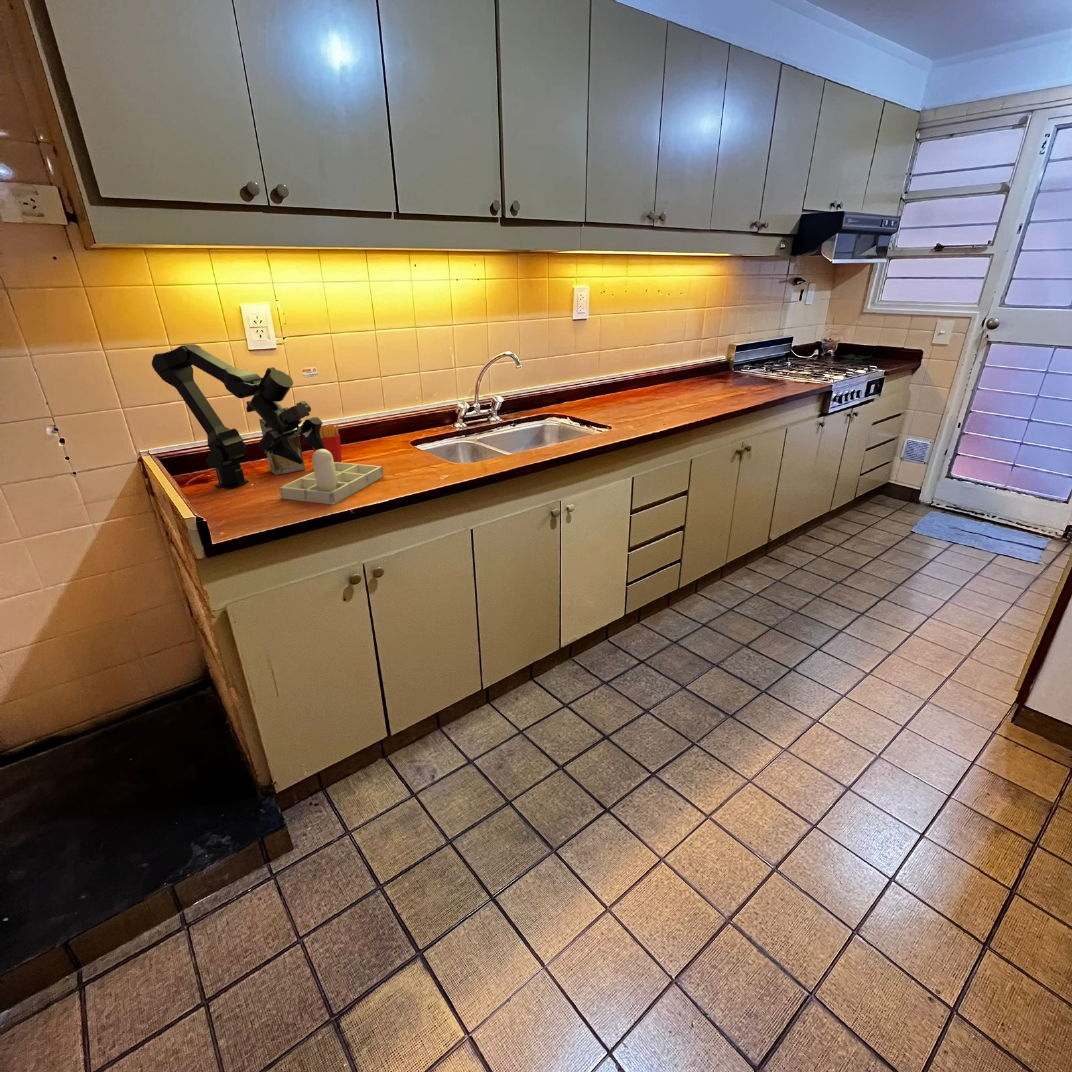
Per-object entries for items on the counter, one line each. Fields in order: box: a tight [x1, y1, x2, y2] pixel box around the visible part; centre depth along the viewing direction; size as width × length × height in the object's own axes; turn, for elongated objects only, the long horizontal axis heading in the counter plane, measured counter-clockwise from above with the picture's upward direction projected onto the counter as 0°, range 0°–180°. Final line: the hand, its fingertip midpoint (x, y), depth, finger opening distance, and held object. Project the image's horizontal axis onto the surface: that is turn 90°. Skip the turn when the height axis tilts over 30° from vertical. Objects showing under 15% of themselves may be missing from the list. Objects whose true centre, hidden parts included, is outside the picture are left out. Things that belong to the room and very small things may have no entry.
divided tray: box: [278, 461, 384, 506], centre depth 159 cm, size 16×24×3 cm
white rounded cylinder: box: [311, 449, 338, 492], centre depth 149 cm, size 5×5×13 cm
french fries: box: [312, 423, 343, 463], centre depth 175 cm, size 9×4×13 cm, turn 121°
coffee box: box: [258, 418, 306, 476], centre depth 171 cm, size 9×6×16 cm
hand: (314, 458), depth 149 cm, fingers open, 9 cm apart
